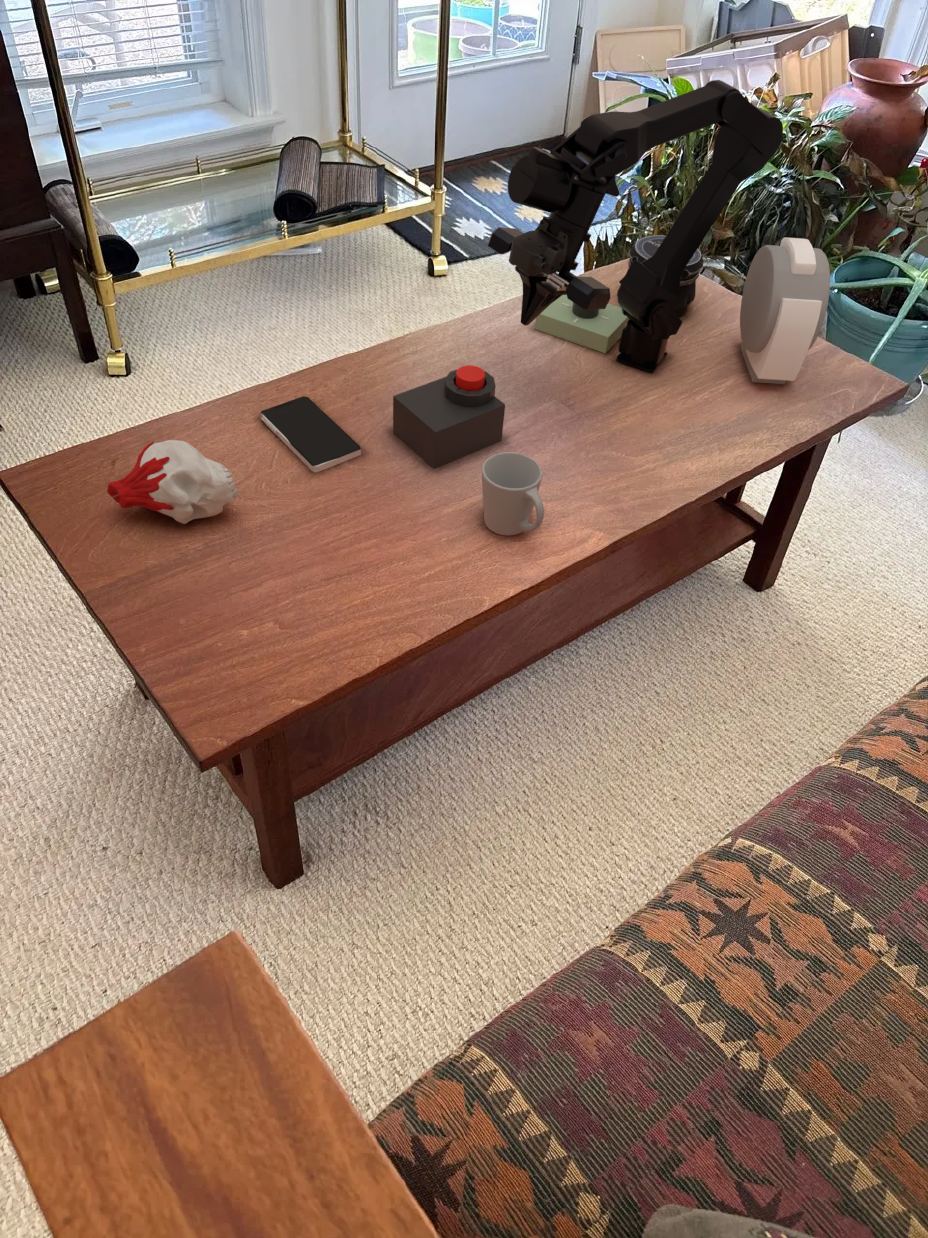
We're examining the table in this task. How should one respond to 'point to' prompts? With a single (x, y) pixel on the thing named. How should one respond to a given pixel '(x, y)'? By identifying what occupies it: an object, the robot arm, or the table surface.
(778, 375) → the alarm clock
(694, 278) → the container
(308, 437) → the smartphone
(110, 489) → the candle
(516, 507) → the cup
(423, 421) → the button housing
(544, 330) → the timer panel
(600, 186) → the robot arm
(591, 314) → the timer knob
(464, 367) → the power button
